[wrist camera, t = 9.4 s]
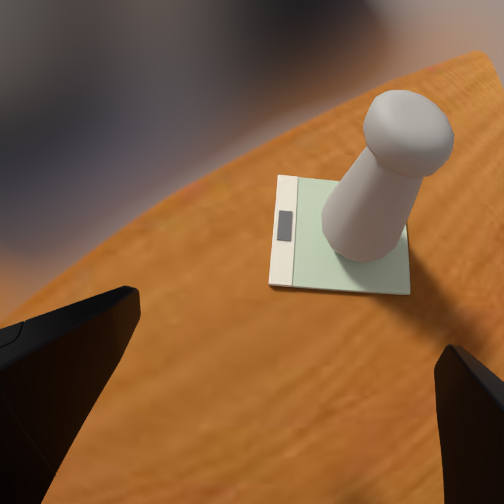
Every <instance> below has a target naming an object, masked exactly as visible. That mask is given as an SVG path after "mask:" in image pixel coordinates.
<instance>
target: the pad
mask: <svg viewBox="0 0 504 504" xmlns="http://www.w3.org/2000/svg"><path fill="white" fill-rule="evenodd" d="M339 182H340V181H331V180H321V179H311V178H301V177H297V176H286V175H278V181H277V193H276V206H275V217H274V229H273V241H272V252H271V263H270V274H269V285H271V286H282V287H294V288H307V289H320V290H333V291H348V292H362V293H378V294H395V295H409V294H410V272H409V256H408V243H407V231H406V224H405V227H404V229H403V232H402V234H401V236H400V239H399V241H398V243H397V246H396V247H395V248H394V249H393V250H392V251H390V252H389V253H388V254H387V255H386V256H385V257H383V258H381V259H378V260H374V261H370V262H366V263H361V262H356V261H353V260H350V259H346V258H345V257H344V256H342V255H341V254H339V253H336V252H334V251H333V249H332V248H331V246H330V244H329V242H328V241H327V239H326V237H325V235H324V234H323V232H322V218H321V211H322V209H323V207H324V205H325V202H326V200H327V198H328V196H329V195H330V194H331V192H332V191H333V190H334V189H335V187H336V186H337V185H338V183H339Z"/></svg>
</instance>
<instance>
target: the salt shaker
mask: <svg viewBox="0 0 504 504" xmlns="http://www.w3.org/2000/svg"><path fill="white" fill-rule="evenodd" d="M363 131H364V136H365V140H366V144H367V146H366V148H365V149H364V150H363V152H362V153H361V154H360V156H359V157H358V158H357V160H356V161H355V162H354V164H353V165H352V166H351V168H350V169H349V170H348V172H347V173H346V174H345V175H344V177H343V178H342V179H341V181H340V182H339V183H338V185H337V186H336V187H335V189H334V190H333V191H332V192H331V194H330V195H329V196H328V198H327V200H326V202H325V205H324V207H323V209H322V211H321V218H322V232H323V234H324V235H325V237H326V239H327V241H328V242H329V244H330V246H331V248H332V249H333V251H334V252H336V253H339V254H341V255H342V256H344V257H345V258H346V259H350V260H353V261H356V262H361V263H366V262H370V261H374V260H378V259H381V258H383V257H385V256H386V255H387V254H388V253H389V252H390V251H392V250H393V249H394V248H395V247H396V246H397V243H398V241H399V239H400V236H401V234H402V232H403V229H404V227H405V224H406V222H407V219H408V217H409V214H410V212H411V209H412V207H413V204H414V202H415V199H416V196H417V194H418V191H419V188H420V185H421V183H422V180H423V177H426V176H430V175H432V174H433V173H435V172H436V171H437V170H438V169H439V168H440V167H441V166H443V165H444V163H445V162H446V161H447V160H448V159H449V157H450V154H451V152H452V149H453V143H454V133H453V131H452V128H451V126H450V123H449V121H448V119H447V117H446V115H445V114H444V113H443V112H442V111H441V110H440V109H439V108H438V107H437V105H436V104H434V103H433V102H431V101H430V100H428V99H427V98H425V97H424V96H422V95H420V94H417V93H414V92H411V91H408V90H390V91H386V92H384V93H382V94H381V95H379V96H377V97H376V98H375V99H374V101H373V103H372V104H371V106H370V108H369V111H368V113H367V115H366V118H365V121H364V125H363Z"/></svg>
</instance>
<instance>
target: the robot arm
mask: <svg viewBox="0 0 504 504" xmlns="http://www.w3.org/2000/svg"><path fill="white" fill-rule="evenodd" d="M140 315H141V310H140V297H139V291H138V289H137V288H134V287H130V286H122V287H119V288H116V289H113V290H110V291H107V292H104V293H102V294H99V295H96V296H93V297H90V298H87V299H84V300H82V301H79V302H76V303H73V304H70V305H67V306H65V307H62V308H59V309H56V310H53V311H50V312H48V313H45V314H42V315H39V316H36V317H34V318H31V319H28V320H25V322H24V321H22V322H19V323H17V324H14V325H11V326H8V327H5V328H2V329H0V504H41V502H42V500H43V498H44V496H45V494H46V492H47V491H48V489H49V487H50V485H51V483H52V481H53V479H54V477H55V475H56V472H57V471H58V469H59V467H60V465H61V463H62V461H63V460H64V458H65V456H66V454H67V452H68V450H69V448H70V447H71V445H72V443H73V441H74V439H75V438H76V436H77V434H78V432H79V430H80V429H81V427H82V425H83V423H84V421H85V420H86V418H87V416H88V414H89V413H90V411H91V409H92V407H93V406H94V404H95V402H96V401H97V399H98V397H99V395H100V394H101V392H102V390H103V389H104V387H105V385H106V384H107V382H108V380H109V379H110V377H111V375H112V374H113V372H114V370H115V369H116V367H117V365H118V363H119V362H120V360H121V358H122V356H123V354H124V352H125V349H126V347H127V345H128V343H129V341H130V339H131V336H132V334H133V332H134V330H135V328H136V326H137V324H138V322H139V319H140ZM434 379H435V393H436V411H437V422H438V429H439V437H440V446H441V456H442V468H443V482H444V504H504V382H503V381H502V380H501V379H500V378H498V377H497V376H496V375H495V374H494V373H493V372H491V371H490V370H489V369H488V368H487V367H486V366H484V365H483V364H482V363H481V362H480V361H478V360H477V359H476V358H475V357H474V356H472V355H471V354H470V353H469V352H468V351H466V350H465V349H464V348H463V347H461V346H460V345H453V344H449V345H447V346H446V347H445V349H444V351H443V352H442V354H441V356H440V358H439V360H438V361H437V363H436V365H435V368H434Z"/></svg>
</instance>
